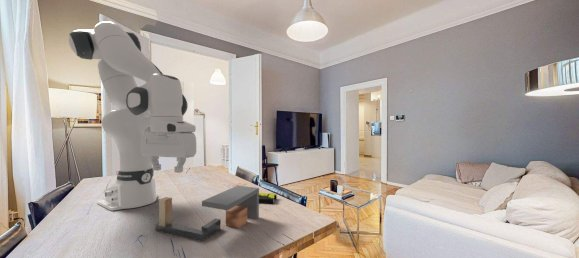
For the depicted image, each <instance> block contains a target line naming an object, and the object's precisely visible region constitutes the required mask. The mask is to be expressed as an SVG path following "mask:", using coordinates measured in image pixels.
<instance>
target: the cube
mask: <svg viewBox="0 0 579 258" xmlns="http://www.w3.org/2000/svg"><path fill="white" fill-rule="evenodd" d="M247 222H248V217H247V207H242V206H235V207H233V208H231V209H229V210H228V211H227V210H225V226H227V227H229V228H234V229H235V228H236V229H240V228H241V227H242V226H244V225H245V224H246V223H247Z"/></svg>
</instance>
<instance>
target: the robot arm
mask: <svg viewBox="0 0 579 258" xmlns="http://www.w3.org/2000/svg"><path fill="white" fill-rule="evenodd" d="M68 44H69V46H70V48H71V50H72V51H73V53H75V55H76V56H77V57H78V58H80V59H84V60H89V61H90V60H99V61H98V62H97V69H98V74H99V78H100V81H101V84H102V86H103V89H104V91H105V93H106V96H107V98H108V100H109V102H110V103H111V104H112V105H114V106H115V107H116V108H118V109H113V110H109V111H108V112H106V113H104V115H103V117H102V119H101V126H102V129H103V131H104V132H105V133H106V134H107V135H109V136H110V137H111V138H112V139H113V141H114V142H115V143H116V146H117V149H118V152H119V170H117V172H116V176H117V177H116V180H115V181H113V183H111V184H110V185H109V186H108V187H107V188H106V190H105V191H104V198H102V199H99V200H98V201H97V204H98V205H99V206H101V207H103V208H105V209H107V210H109V211H117V210H118V211H119V210H123V209H124V210H125V209H134V208H140V207H143V206H147V205H150V204H153V203H155V202H156V201H157V198H158V197H159V194H158V193H157V189H156V187H157V186H156V180H155V179H154V174H155V172H154V171H156V172H157V171H161V170H162V164H160V162H159V159H160V157H162V158H176V162H177V163H176V166H174V173H179V174H180V173H182V172H184V165H185V164H186V161H187V159H188V158H194V157H195V156H196V154H197V136H196V134H195V132H196V126H195V125H194V124H192V123H190V122H187V121H185V120H184V119H183V118H184V117H183V116H184V115H185V114H186V112H187V111H188V107H189V106H188V101H187V99H186V96H185V95H184V94H183V89H182V84H181V81H180V79H179V78H177V77H175V76H172V75H167V74H164V73H163V72H162V71H161V70H160V68H159V67H158V66H157V65H155V64H154V63H153V61H151V60H150V59H149V58H148V57H146V55H145V54H144V53H143V52H142V44H141V41H140V40H139V37H138V36H137V34H135V33H134V32H131V31H127V30H125V29H124V28H123V27H122V26H120V25H119V24H117V23H115V22H112V21H101V22H100V21H99V22H98V23H97V24H96V25H94V28H93V29H76V30H72V31H71V32H69V36H68ZM135 78H137V79H140V80H142V81H143V82H145V83H144V84H142V85H140V86H138V85H137V82H136V81H135Z"/></svg>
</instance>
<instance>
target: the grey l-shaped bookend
mask: <svg viewBox="0 0 579 258" xmlns="http://www.w3.org/2000/svg"><path fill="white" fill-rule="evenodd" d="M259 193H260V188H259V187H253V186H245V185H244V186H243V185H236V186H233V187H231V188H228V189H227V190H224V191H222V192H220V193H217V194H215V195H212V196H210V197H208V198H206V199H203V200H201V207H205V208H211V209H216V210H223V211H226V210H227V211H228V210H229V209H231V208H233V207H235V206H242V207H247V219H248V218H249V219H255V220H257V219H259V217H260V216H259V215H260V214H259V213H260V212H259V211H260V209H259V208H260V205H259V204H260V203H259Z"/></svg>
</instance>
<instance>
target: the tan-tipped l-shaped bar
mask: <svg viewBox="0 0 579 258" xmlns="http://www.w3.org/2000/svg"><path fill="white" fill-rule="evenodd" d="M158 200H159V201H158V213H159V214H158V222H157V223H155V224H154V225H155V226H154V227H155V228H154V229H155V232H158V233H163V234H166V235H167V234H168V235H172V236H176V237H179V238H184V239H189V240H193V241H198V242H200V243H201V242H204V241H206V240H207V239H208V238H210V237H211V236H213V235H215V233H217V232H218V231H219V230H221V227H222V226H221V220H222V219H221V218H214V219H212V220H210V221H209V222H207V223H206V224H204V225H202V226H201V229H198V228H193V227H188V226H183V225H179V224H175V223H172V222H173V220H172V218H173V197H169V196H166V197H161V198H159V199H158Z"/></svg>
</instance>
